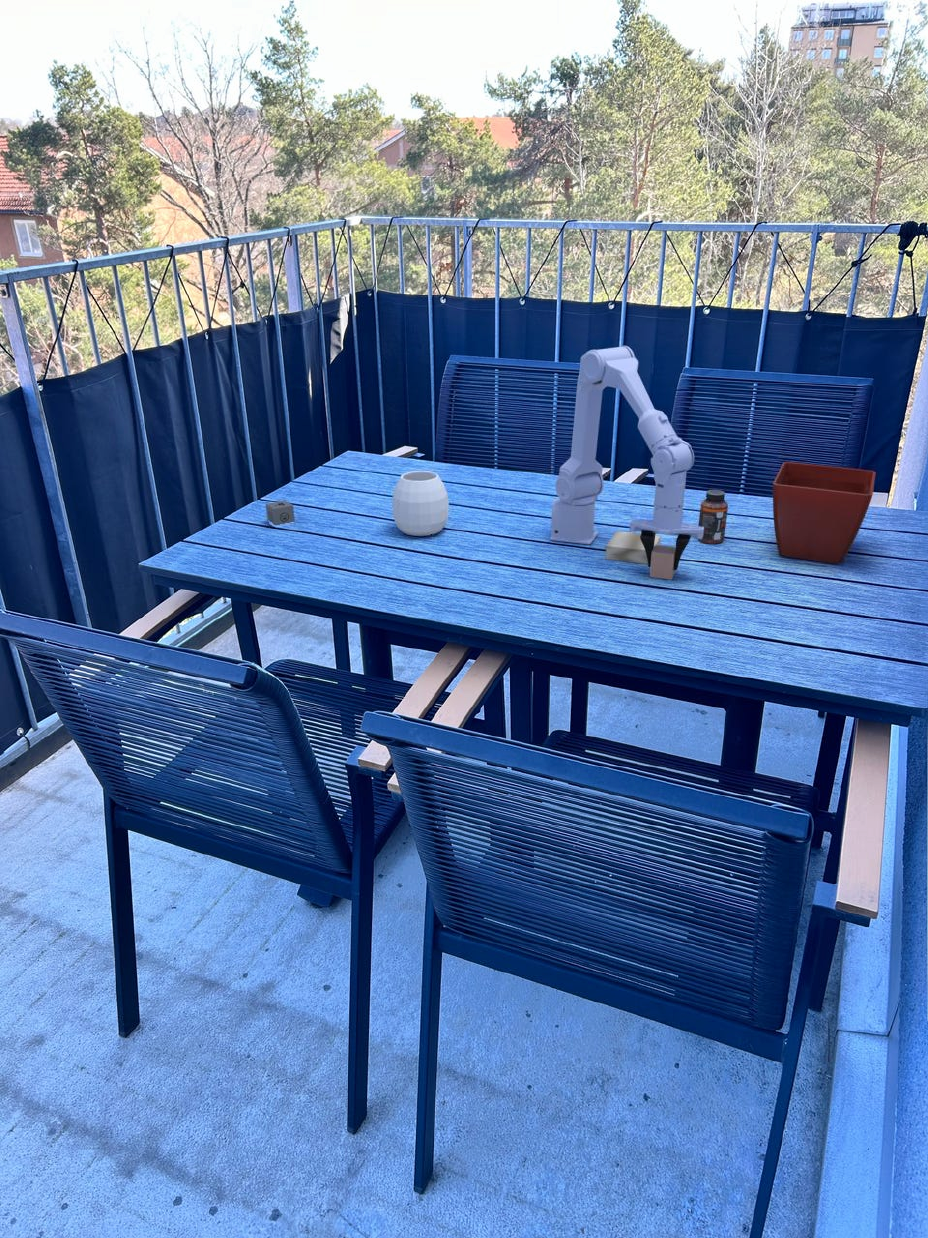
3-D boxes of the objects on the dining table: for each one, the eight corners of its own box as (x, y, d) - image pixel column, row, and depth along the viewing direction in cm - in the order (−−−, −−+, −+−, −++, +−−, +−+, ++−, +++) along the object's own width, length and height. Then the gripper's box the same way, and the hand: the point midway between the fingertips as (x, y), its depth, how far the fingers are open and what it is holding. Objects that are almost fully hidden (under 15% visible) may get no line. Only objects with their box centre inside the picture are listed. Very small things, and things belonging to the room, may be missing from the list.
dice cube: (295, 525, 215) (293, 505, 213) (275, 529, 213) (273, 509, 211) (286, 519, 219) (284, 500, 217) (267, 523, 217) (265, 503, 214)
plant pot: (862, 543, 199) (876, 469, 192) (857, 573, 183) (872, 494, 176) (773, 531, 206) (783, 460, 199) (761, 559, 191) (772, 483, 183)
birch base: (605, 558, 192) (606, 545, 191) (615, 543, 201) (615, 530, 199) (651, 564, 189) (653, 551, 188) (659, 548, 197) (660, 535, 196)
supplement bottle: (724, 545, 199) (730, 496, 194) (697, 543, 200) (702, 495, 195) (723, 536, 204) (728, 488, 199) (696, 534, 205) (701, 487, 200)
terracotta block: (649, 576, 183) (651, 551, 180) (653, 569, 186) (655, 544, 184) (671, 579, 181) (674, 554, 179) (675, 571, 185) (677, 546, 183)
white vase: (384, 536, 207) (380, 480, 201) (408, 519, 218) (405, 465, 212) (435, 543, 202) (434, 486, 196) (457, 525, 213) (456, 470, 207)
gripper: (628, 506, 176) (624, 569, 182) (703, 513, 171) (696, 578, 177) (635, 495, 182) (630, 557, 188) (707, 502, 177) (700, 565, 183)
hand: (663, 566), depth 183 cm, fingers closed on terracotta block, 4 cm apart
